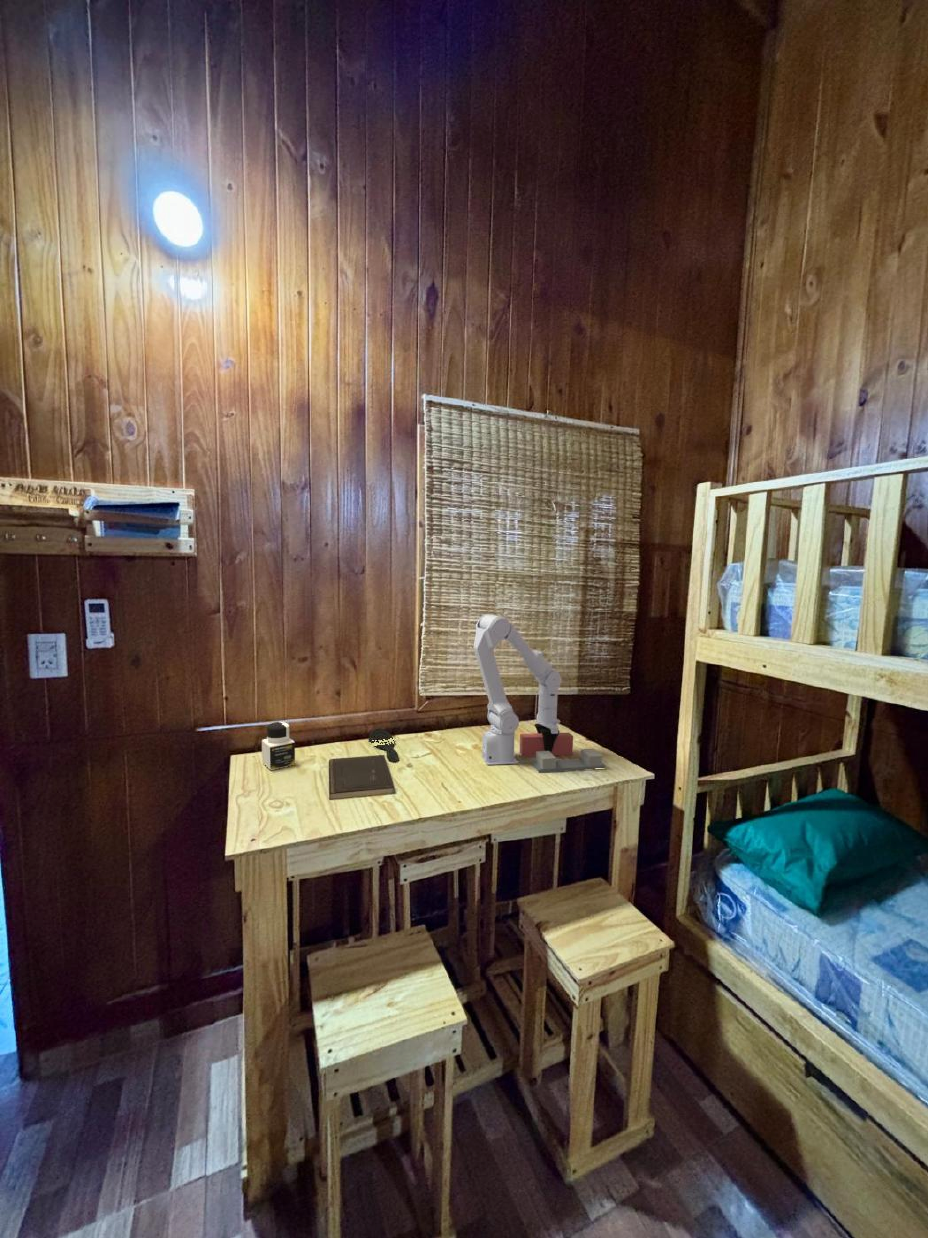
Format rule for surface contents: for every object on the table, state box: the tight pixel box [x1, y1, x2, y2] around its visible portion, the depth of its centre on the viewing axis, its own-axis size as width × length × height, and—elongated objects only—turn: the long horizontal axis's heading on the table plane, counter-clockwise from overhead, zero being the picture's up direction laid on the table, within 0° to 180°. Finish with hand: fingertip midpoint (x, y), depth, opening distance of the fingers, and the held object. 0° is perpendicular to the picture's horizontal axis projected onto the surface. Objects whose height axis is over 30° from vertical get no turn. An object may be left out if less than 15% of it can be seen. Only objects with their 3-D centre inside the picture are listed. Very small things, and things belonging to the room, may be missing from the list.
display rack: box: [531, 748, 606, 773], centre depth 149 cm, size 20×6×4 cm, turn 100°
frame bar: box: [519, 732, 574, 757], centre depth 160 cm, size 16×4×6 cm, turn 98°
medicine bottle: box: [261, 721, 296, 771], centre depth 147 cm, size 7×7×12 cm
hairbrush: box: [368, 727, 400, 764], centre depth 162 cm, size 8×4×25 cm
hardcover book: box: [328, 754, 395, 801], centre depth 139 cm, size 16×23×2 cm
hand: (546, 749), depth 160 cm, fingers closed on frame bar, 4 cm apart
